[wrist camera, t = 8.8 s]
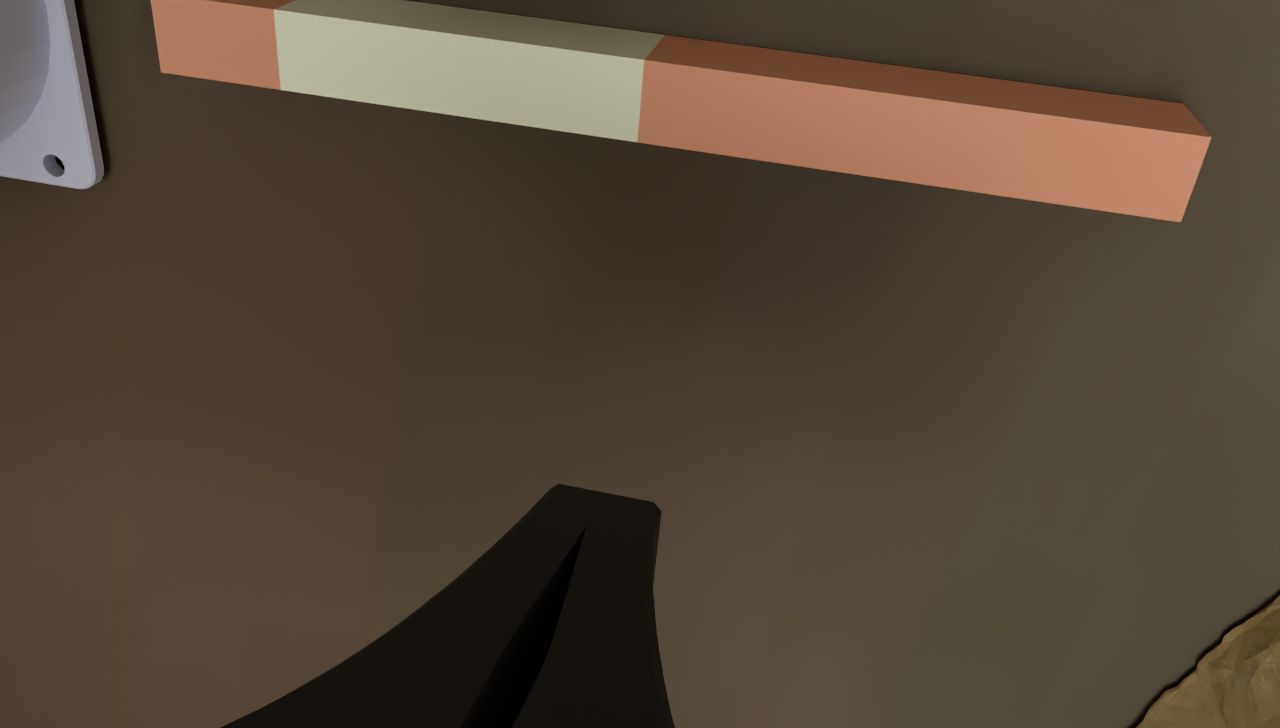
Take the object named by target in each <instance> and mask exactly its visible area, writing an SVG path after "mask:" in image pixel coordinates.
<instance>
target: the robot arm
mask: <svg viewBox="0 0 1280 728" xmlns="http://www.w3.org/2000/svg"><path fill="white" fill-rule="evenodd" d="M55 156H57V157H58V158H59V159H60V160H61V161H62V163H63V165H64V167H65V170H64V169H62V168H61V167H60V166H59V165H58V164H57V162H56V160H55ZM0 176H3V177H9V178H15V179H21V180H27V181H33V182H39V183H45V184H51V185H57V186H63V187H69V188H75V189H87V188H89V187H91V186H93V185H95V184H97V183H98V182H100V181H101V180H102V178H103V176H104V165H103V159H102V153H101V148H100V142H99V137H98V131H97V126H96V120H95V115H94V109H93V103H92V98H91V92H90V87H89V81H88V76H87V70H86V65H85V59H84V53H83V48H82V42H81V37H80V31H79V26H78V20H77V15H76V9H75V3H74V0H0ZM660 520H661V511H660V509H659V508H658V507H657V506H656V504H655V503H654V502H650V501H645V500H639V499H634V498H629V497H624V496H619V495H614V494H608V493H603V492H598V491H593V490H588V489H583V488H577V487H572V486H567V485H562V484H558V485H556V486H555V487H553V488H551V489H550V490H549V491H548V492H547V493H546V494H545V495H544V496H543V497H542V498H541V499H540V500H539V501H538V502H537V503H536V504H535V505H534V506H533V507H532V508H531V509H530V510H529V511H528V512H527V513H526V514H525V515H524V517H522V518H521V519H520V520H519V521H518V522H517V523H516V524H515V525H514V526H513V527H512V528H511V529H510V530H509V531H508V532H507V533H506V534H505V535H504V536H503V537H502V538H501V539H500V540H499V541H498V542H497V543H496V544H494V545H493V546H492V547H491V548H490V549H489V550H488V551H487V552H485V553H484V554H483V555H482V556H481V557H480V558H479V559H478V560H476V561H475V562H474V563H473V564H472V565H471V566H470V567H469V568H467V569H466V570H465V571H464V572H463V573H462V574H461V575H460V576H458V577H457V578H456V579H455V580H454V581H453V582H451V583H450V584H449V585H448V586H446V587H445V588H444V589H443V590H441V591H440V592H439V593H438V594H436V595H435V596H434V597H433V598H431V599H430V600H429V601H427V602H426V603H425V604H424V605H422V606H421V607H420V608H419V609H417V610H416V611H415V612H413V613H412V614H411V615H410V616H408V617H407V618H406V619H404V620H403V621H402V622H400V623H399V624H398V625H396V626H395V627H393V628H392V629H391V630H389V631H388V632H387V633H385V634H384V635H382V636H381V637H379V638H378V639H376V640H375V641H374V642H372V643H371V644H369V645H368V646H366V647H365V648H363V649H362V650H360V651H359V652H357V653H355V654H354V655H352V656H351V657H349V658H348V659H346V660H345V661H343V662H342V663H340V664H338V665H337V666H335V667H333V668H332V669H330V670H328V671H327V672H325V673H323V674H321V675H320V676H318V677H316V678H315V679H313V680H311V681H310V682H308V683H306V684H304V685H303V686H301V687H299V688H298V689H296V690H294V691H292V692H290V693H289V694H287V695H285V696H283V697H281V698H280V699H278V700H276V701H274V702H272V703H270V704H268V705H266V706H264V707H263V708H261V709H259V710H257V711H254V712H252V713H250V714H248V715H246V716H244V717H242V718H240V719H238V720H235V721H233V722H231V723H229V724H227V725H225V726H223V727H221V728H675V727H674V723H673V719H672V715H671V711H670V706H669V702H668V697H667V692H666V687H665V682H664V677H663V671H662V665H661V659H660V653H659V646H658V638H657V631H656V620H655V609H654V597H653V581H654V572H655V563H656V555H657V546H658V537H659V529H660Z"/></svg>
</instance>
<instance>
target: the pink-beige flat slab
mask: <svg viewBox="0 0 1280 728" xmlns="http://www.w3.org/2000/svg"><path fill="white" fill-rule="evenodd" d="M151 6H152V13H153V20H154V27H155V34H156V41H157V48H158V54H159V61H160V68H161V72H162V73H169V74H176V75H183V76H190V77H196V78H203V79H210V80H217V81H224V82H230V83H237V84H244V85H251V86H257V87H264V88H271V89H278V90H285V91H291V92H298V93H305V94H312V95H319V96H325V97H332V98H339V99H346V100H353V101H359V102H366V103H373V104H380V105H387V106H393V107H400V108H407V109H414V110H421V111H427V112H434V113H441V114H448V115H455V116H461V117H468V118H475V119H482V120H489V121H495V122H502V123H509V124H516V125H523V126H529V127H536V128H543V129H550V130H557V131H563V132H570V133H577V134H584V135H591V136H597V137H604V138H611V139H618V140H625V141H631V142H638V143H645V144H652V145H659V146H665V147H672V148H679V149H686V150H693V151H699V152H706V153H713V154H720V155H726V156H733V157H740V158H747V159H754V160H760V161H767V162H774V163H781V164H788V165H794V166H801V167H808V168H815V169H822V170H828V171H835V172H842V173H849V174H856V175H862V176H869V177H876V178H883V179H890V180H896V181H903V182H910V183H917V184H924V185H930V186H937V187H944V188H951V189H958V190H964V191H971V192H978V193H985V194H992V195H998V196H1005V197H1012V198H1019V199H1026V200H1032V201H1039V202H1046V203H1053V204H1060V205H1066V206H1073V207H1080V208H1087V209H1094V210H1100V211H1107V212H1114V213H1121V214H1128V215H1134V216H1141V217H1148V218H1155V219H1161V220H1168V221H1175V222H1181V220H1182V218H1183V215H1184V212H1185V209H1186V207H1187V204H1188V201H1189V198H1190V196H1191V193H1192V190H1193V187H1194V184H1195V182H1196V179H1197V176H1198V173H1199V171H1200V168H1201V165H1202V162H1203V160H1204V157H1205V154H1206V151H1207V149H1208V146H1209V143H1210V140H1211V136H1210V135H1209V134H1208V133H1207V131H1206V130H1205V129H1204V128H1203V126H1202V125H1201V124H1200V123H1199V122H1198V120H1197V119H1196V118H1195V117H1194V116H1193V114H1192V113H1191V112H1190V111H1189V110H1188V108H1187V107H1186V106H1185V105H1184V104H1182V103H1175V102H1167V101H1160V100H1152V99H1145V98H1137V97H1129V96H1122V95H1114V94H1107V93H1099V92H1092V91H1084V90H1077V89H1069V88H1062V87H1054V86H1047V85H1039V84H1032V83H1024V82H1016V81H1009V80H1001V79H994V78H986V77H979V76H971V75H964V74H956V73H949V72H941V71H934V70H926V69H919V68H911V67H903V66H896V65H888V64H881V63H873V62H866V61H858V60H851V59H843V58H836V57H828V56H821V55H813V54H806V53H798V52H790V51H783V50H775V49H768V48H760V47H753V46H745V45H738V44H730V43H723V42H715V41H708V40H700V39H692V38H685V37H677V36H670V35H662V34H655V33H647V32H640V31H632V30H625V29H617V28H610V27H602V26H595V25H587V24H580V23H572V22H564V21H557V20H549V19H542V18H534V17H527V16H519V15H512V14H504V13H497V12H489V11H482V10H474V9H466V8H459V7H451V6H444V5H436V4H429V3H421V2H414V1H406V0H151Z"/></svg>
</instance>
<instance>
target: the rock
mask: <svg viewBox="0 0 1280 728" xmlns="http://www.w3.org/2000/svg"><path fill="white" fill-rule="evenodd" d="M1136 728H1280V595H1279V596H1278V597H1277V598H1276V599H1275V600H1274V601H1273V602H1272V603H1270V604H1269V605H1268V606H1267V607H1265V608H1264V609H1263V610H1261V611H1260V612H1258V613H1257V614H1255V615H1254V616H1252V617H1251V618H1250V619H1248V620H1247V621H1246V622H1244V623H1243V624H1242V625H1239V626H1237V627H1235V628H1233V629H1232V630H1231V631H1230V632H1229V633H1227V634H1226V635H1225V636H1224V638H1223V641H1222V642H1221V643H1220V644H1219V645H1218V646H1216V647H1215V648H1214V649H1213V650H1211V651H1210V652H1208V653H1207V654H1206V655H1205V656H1204V657H1203V658H1202V659H1201V660H1200V661H1199V662H1198V665H1197V669H1196V670H1195V671H1194V672H1193V673H1191V674H1190V675H1189V676H1187V677H1186V678H1185V679H1184V680H1183V681H1182V682H1181V683H1180V684H1179V685H1178V686H1176V687H1174V688H1172V689H1169V690H1167V691H1165V692H1164V693H1163V694H1162V695H1161V696H1160V698H1159V699H1158V700H1157V701H1156V702H1155V703H1154V704H1153V705H1152V706H1151V707H1150V708H1149V709H1148V711H1147V713H1146V715H1145V717H1144V720H1143V721H1142V722H1141V723H1140V724H1139V725H1138V726H1137V727H1136Z"/></svg>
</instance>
